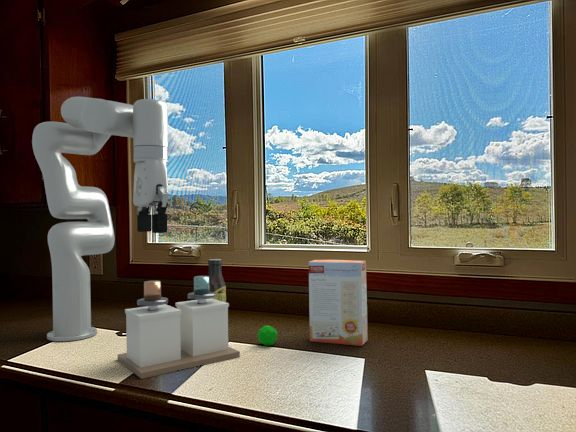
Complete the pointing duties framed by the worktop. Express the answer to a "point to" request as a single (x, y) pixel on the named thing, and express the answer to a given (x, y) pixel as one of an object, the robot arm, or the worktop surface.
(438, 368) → the worktop surface
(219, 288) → the sauce bottle
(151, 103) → the robot arm
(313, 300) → the cracker box
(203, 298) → the plunger
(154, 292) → the plunger
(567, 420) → the worktop surface
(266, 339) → the polyhedron
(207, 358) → the press stand
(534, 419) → the worktop surface
